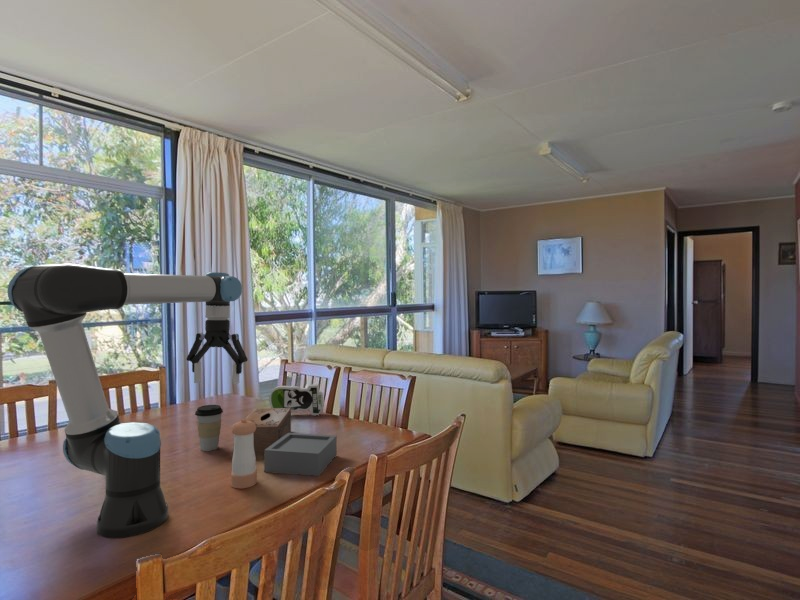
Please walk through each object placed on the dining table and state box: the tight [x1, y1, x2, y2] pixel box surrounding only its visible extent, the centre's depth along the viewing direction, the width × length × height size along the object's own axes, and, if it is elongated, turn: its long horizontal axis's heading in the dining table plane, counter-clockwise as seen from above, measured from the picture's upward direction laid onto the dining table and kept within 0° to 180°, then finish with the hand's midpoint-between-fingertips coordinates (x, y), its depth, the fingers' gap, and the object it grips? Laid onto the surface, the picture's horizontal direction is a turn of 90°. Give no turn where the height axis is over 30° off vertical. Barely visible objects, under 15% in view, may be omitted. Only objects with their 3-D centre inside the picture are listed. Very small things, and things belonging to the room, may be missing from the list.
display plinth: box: [263, 432, 338, 477], centre depth 150 cm, size 18×18×7 cm
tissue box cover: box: [244, 407, 292, 455], centre depth 172 cm, size 26×14×10 cm, turn 3°
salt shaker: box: [230, 418, 258, 489], centre depth 134 cm, size 7×7×19 cm
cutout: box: [268, 383, 325, 416], centre depth 210 cm, size 15×3×25 cm
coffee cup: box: [194, 404, 224, 452], centre depth 165 cm, size 9×9×15 cm
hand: (216, 383), depth 150 cm, fingers open, 13 cm apart
